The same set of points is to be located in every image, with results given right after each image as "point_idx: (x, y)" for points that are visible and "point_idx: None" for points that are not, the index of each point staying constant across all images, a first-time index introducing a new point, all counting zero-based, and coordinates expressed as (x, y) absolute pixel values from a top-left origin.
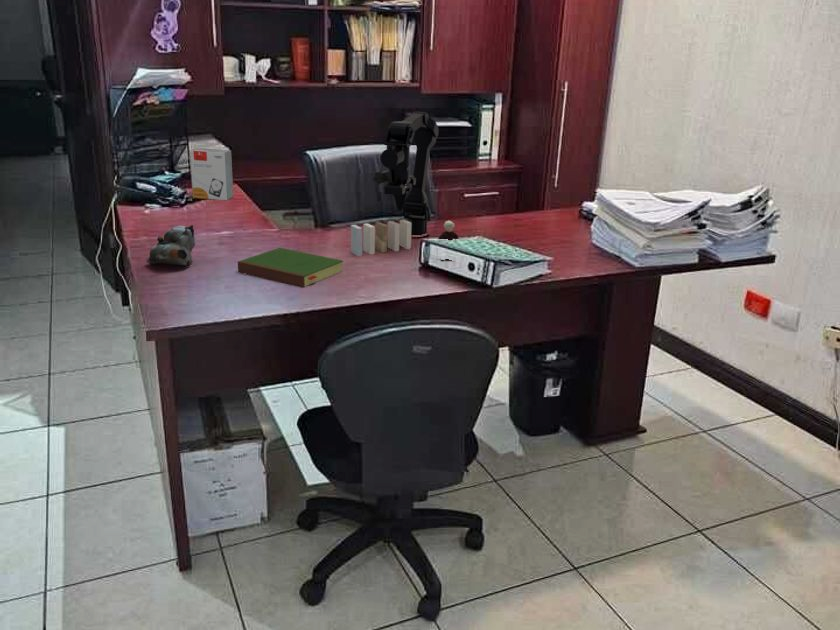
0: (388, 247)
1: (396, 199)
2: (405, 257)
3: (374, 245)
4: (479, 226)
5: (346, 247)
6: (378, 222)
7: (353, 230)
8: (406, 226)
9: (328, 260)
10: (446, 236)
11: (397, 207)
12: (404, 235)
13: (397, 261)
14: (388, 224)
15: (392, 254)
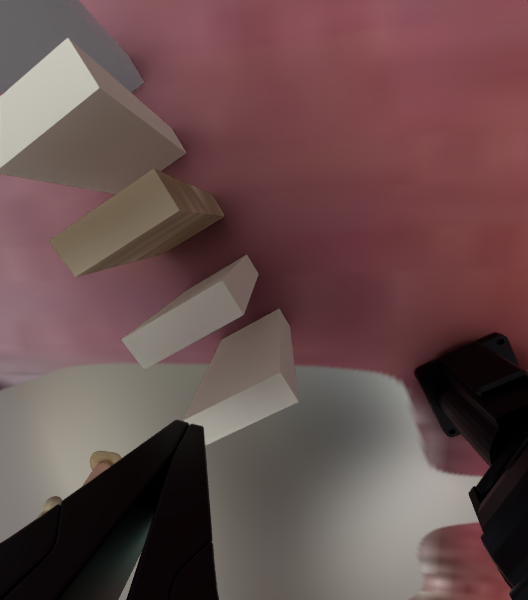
0: (238, 259)
1: (3, 567)
2: (106, 334)
3: (98, 189)
4: None
5: (222, 10)
6: (161, 196)
7: None
8: (198, 400)
9: None
10: None
11: (148, 443)
12: (230, 357)
13: (40, 303)
14: (219, 280)
15: (137, 280)
